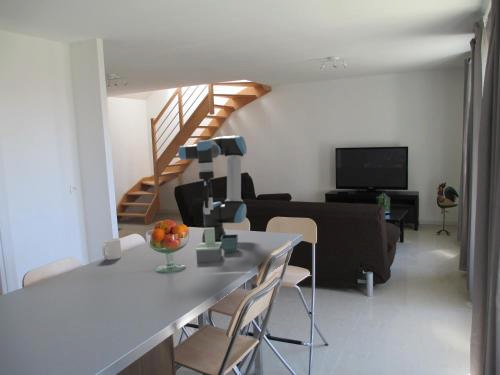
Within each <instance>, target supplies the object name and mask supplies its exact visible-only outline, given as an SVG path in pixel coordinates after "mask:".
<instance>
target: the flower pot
mask: <svg viewBox="0 0 500 375" xmlns="http://www.w3.org/2000/svg"><path fill="white" fill-rule="evenodd" d="M238 239H239V235H238V234H235V233H234V234H226V235H222V237H221V241H220V242H222V244H221V249H222V250H223V252H224V253H236V250H237V248H238V244H239V242H238V241H239V240H238Z"/></svg>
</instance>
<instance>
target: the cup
mask: <svg viewBox="0 0 500 375" xmlns="http://www.w3.org/2000/svg"><path fill="white" fill-rule="evenodd" d="M101 248H102V249H101V252H102V256H103V257H104V258H105V259H106V260H108V261H110V260H111V261H113V260H117V259H120V258H122V256H123V255H122V243H121V238H118V237H113V238H108V239H105V240H104V244H103V245H102V247H101Z"/></svg>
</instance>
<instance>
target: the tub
mask: <svg viewBox="0 0 500 375" xmlns="http://www.w3.org/2000/svg"><path fill="white" fill-rule="evenodd" d="M222 250H223V248H222V245H221V246H220V248H219V250H201V251H196V253H195V254H196V263H198V264H201V263H219V262H220V261H221V258H222V256H223V252H222Z"/></svg>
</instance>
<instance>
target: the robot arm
mask: <svg viewBox="0 0 500 375" xmlns="http://www.w3.org/2000/svg"><path fill="white" fill-rule="evenodd" d="M177 153H178V158H179V159H180V160H181V161H182V160H183V161H185V160H187V161H189V160H197V163H198V164H197V167H198V171H199V172H198V177H199V180H203V181H202V200H201V202H203V206H202V214H203V215H202V216H203V229H204V228H214V231H215V242H221V237H222V235H227V234H226V231H225V228H224V225H223V224H241V223H243V222H244V221H245V220H246V216H247V205H246V204H245V203H244V200H243V199H242V160H243V158H244V155H246V154H247V143H246V140H245V138H244V136H242V135H227V136H218V137H214V138H211V139H207V140H198V141H197V142H196V143H195V144H190V145H189V144H188V145H180V146H179V148H178V151H177ZM219 156H224V158H225V159H226V198H225V200H224V203H223V204H222V201H215V202H214V201H213V200H214V199H213V198H215V196H214V193H213V186H212V179H214V178H215V173H214V161H213V159H216V158H218V157H219ZM201 236H202V237H201V238H202V239H201V241H202V243H205V234H204V231H203V233H202V235H201Z"/></svg>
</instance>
